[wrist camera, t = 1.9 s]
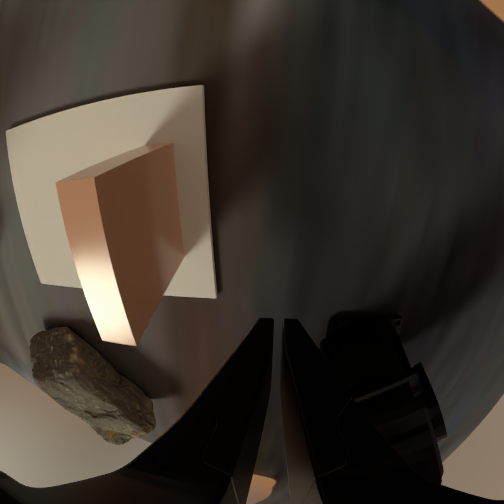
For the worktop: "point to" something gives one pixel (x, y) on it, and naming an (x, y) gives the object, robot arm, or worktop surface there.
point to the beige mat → (100, 149)
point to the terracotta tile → (124, 236)
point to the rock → (89, 386)
